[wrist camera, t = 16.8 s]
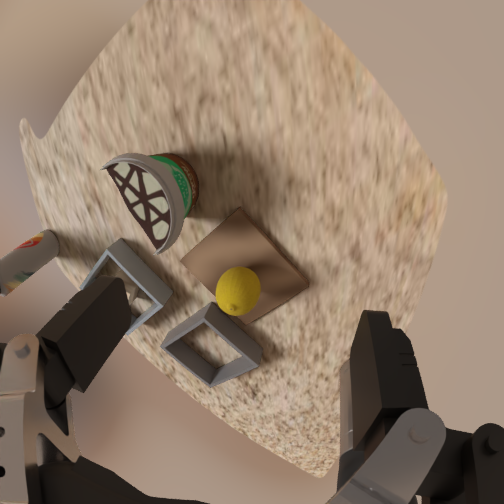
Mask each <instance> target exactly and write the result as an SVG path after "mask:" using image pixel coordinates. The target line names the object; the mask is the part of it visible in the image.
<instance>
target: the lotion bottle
mask: <svg viewBox="0 0 504 504" xmlns="http://www.w3.org/2000/svg"><path fill="white" fill-rule="evenodd" d="M58 253H59V243H58V240H57V238H56V237H55V235H54V234H53V233H52V232H51V231H49V230H44V231H42V232H40V233H39V234H37V235H35V236H34V237H32V238H31V239H29V240H28V241H26V242H25V243H23V244H22V245H20V246H18V247H17V248H16V249H14V250H13V251H11V252H10V253H8V254H7V255H5V256H4V257H2V258H1V259H0V295H1V296H4V297H5V296H7V295H8V294H9V293H10V292H12V291H13V290H14V289H15V288H16V287H18V286H19V285H20V284H21V283H23V282H24V281H25V280H26V279H28V278H29V277H30V276H31V275H33V274H34V273H35V272H36V271H38V270H39V269H40V268H41V267H43V266H44V265H45V264H47V263H48V262H49V261H51V260H52V259H53V258H55V257H56V256H57V255H58Z"/></svg>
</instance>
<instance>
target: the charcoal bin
mask: <svg viewBox="0 0 504 504" xmlns="http://www.w3.org/2000/svg"><path fill="white" fill-rule="evenodd" d="M203 322H205V323H206V324H207V325H208V326H209V327H210V328H211V329H212V330H213V331H215V332H216V333H217V334H218V335H219V336H220V337H221V338H222V339H224V340H225V341H226V342H227V343H228V344H229V345H230V346H232V347H233V348H234V349H235V350H236V351H237V352H239V353H240V354H241V355H242V357H240V358H238V359H236V360H234V361H232V362H230V363H228V364H226V365H224V366H222V367H220V368H218V369H215V368H214V367H213V366H211V365H210V364H209V363H208V362H207V361H205V360H204V359H203V358H202V357H200V356H199V355H198V354H197V353H196V352H195V351H193V350H192V349H191V348H190V347H189V346H188V345H186V344H185V343H184V342H183V341H182V340H181V339H179V338H180V337H182V336H183V335H185V334H187V333H188V332H190V331H191V330H193V329H194V328H196V327H197V326H199V325H200V324H202V323H203ZM160 347H161V348H162V349H163V350H164V351H166V352H167V353H168V354H169V355H170V356H171V357H173V358H174V359H175V360H176V361H177V362H179V363H180V364H181V365H182V366H183V367H185V368H186V369H187V370H188V371H190V372H191V373H192V374H193V375H195V376H196V377H197V378H199V379H200V380H201V381H202V382H204V383H205V384H206V385H208V386H209V387H210V388H211V387H213V386H216V385H218V384H220V383H223V382H225V381H227V380H230V379H232V378H234V377H237V376H239V375H241V374H243V373H245V372H248V371H250V370H252V369H254V368H256V367H258V366H259V364H260V360H261V356H262V351H263V348H261V347H260V346H259V345H258V344H257V343H256V342H255V341H254V340H252V339H251V338H250V337H249V336H248V335H247V334H246V333H245V332H244V331H243V330H241V329H240V328H239V327H238V326H237V325H236V324H235V323H234V322H233V321H232V320H231V319H230V318H228V317H227V316H226V315H225V314H224V313H223V312H222V311H221V310H220V309H219V308H218V307H217V306H216V305H215V304H214V303H213V302H211V303H209V304H208V305H206V306H205V307H203V308H202V309H201V310H199V311H198V312H196V313H195V314H194V315H192V316H191V317H189V318H188V319H186V320H185V321H184V322H182V323H181V324H179V325H178V326H177V327H175V328H174V329H172V330H171V331H169V332H168V334H167V336H166V337H165V339H164V341H163V342H162V344H161V346H160Z"/></svg>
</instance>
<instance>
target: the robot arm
mask: <svg viewBox="0 0 504 504" xmlns="http://www.w3.org/2000/svg"><path fill="white" fill-rule="evenodd" d="M131 320H132V313H131V309H130V305H129V301H128V297H127V293H126V289H125V284H124V282H123V280H122V279H121V278H119V277H113V276H107V275H101V276H99V277H98V278H97V279H96V280H95V281H94V282H93V283H92V284H91V285H90V286H88V287H86V288H85V289H83V290H81V291H79V292H78V293H77V294H75V295H74V297H72V298H71V299H70V300H69V303H66V304H65V305H64V306H63V307H62V310H59V312H57V313H56V314H55V316H54V317H53V318H52V319H51V320H50V321H49V322H48V323H47V324H46V325H45V326H44V327H43V328H42V329H41V330H40V331H39V332H38V333H37V334H36V335H33V334H22V335H19V336H17V337H15V338H13V339H12V340H11V341H10V342H9V343H8V344H6V343H0V504H208V503H204V502H200V501H196V500H179V499H167V498H157V497H150V496H148V495H145V494H144V493H142V492H141V491H139V490H137V489H136V488H135V487H133V486H132V485H131V484H129V483H128V482H126V481H125V480H124V479H122V478H121V477H119V476H118V475H117V474H115V473H114V472H113V471H111V470H109V469H106V468H104V467H102V466H100V465H98V464H96V463H94V462H92V461H90V460H88V459H86V458H84V457H83V456H82V454H81V452H80V450H79V448H78V446H77V443H76V439H75V431H74V424H73V413H72V403H71V396H70V394H69V391H70V390H71V388H73V389H76V390H78V391H80V392H83V393H84V392H85V391H86V389H87V388H88V386H89V385H90V383H91V382H92V380H93V379H94V377H95V376H96V374H97V373H98V371H99V370H100V369H101V367H102V366H103V364H104V363H105V361H106V360H107V358H108V357H109V356H110V354H111V353H112V351H113V350H114V348H115V347H116V346H117V344H118V343H119V342H120V340H121V339H122V337H123V336H124V335H125V333H126V332H127V330H128V329H129V327H130V324H131ZM339 461H340V462H339V473H338V481H337V492H336V494H335V495H334V496H333V497H332V498H331V499H330V500H329V501H328V502H327V503H326V504H418V503H417V498H416V496H415V495H420V496H422V504H504V428H502V427H501V426H499V425H497V424H493V423H487V424H484V425H482V426H481V427H479V428H478V429H477V430H476V431H475V432H474V433H473V434H472V433H467V432H462V431H456V430H452V429H448V428H446V427H445V425H444V423H443V421H442V420H441V418H440V417H439V416H438V415H437V414H435V413H434V412H432V411H430V410H429V408H428V404H427V400H426V396H425V392H424V388H423V384H422V380H421V376H420V372H419V368H418V367H417V361H416V358H415V356H414V351H413V348H412V344H411V341H410V339H409V338H408V337H407V336H406V334H405V333H404V332H403V331H402V330H401V329H396V328H392V325H391V321H390V317H389V314H388V312H386V311H373V310H364V311H363V312H362V314H361V318H360V321H359V324H358V328H357V331H356V334H355V337H354V340H353V343H352V347H351V352H350V359H349V360H348V361H347V362H345V363H344V364H343V366H342V367H341V369H340V460H339Z"/></svg>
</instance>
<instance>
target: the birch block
mask: <svg viewBox="0 0 504 504" xmlns="http://www.w3.org/2000/svg"><path fill="white" fill-rule="evenodd" d="M114 277H119V278H121V279H122V280H123V282H124V284H125V289H126V293H127V297H128V301H129V305H131V303H132V302H133V301H134V300H135V299H136V297H137V294H138V291H139V286H138V285H137V284H136V283H135V282H134V281H133V280H132V279H131V278H130V277H129V276H128V275H127V274H126V273H125V272H124V271H123V270H120V271H119V272H118V273H117V274H116V275H115V276H114Z"/></svg>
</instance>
